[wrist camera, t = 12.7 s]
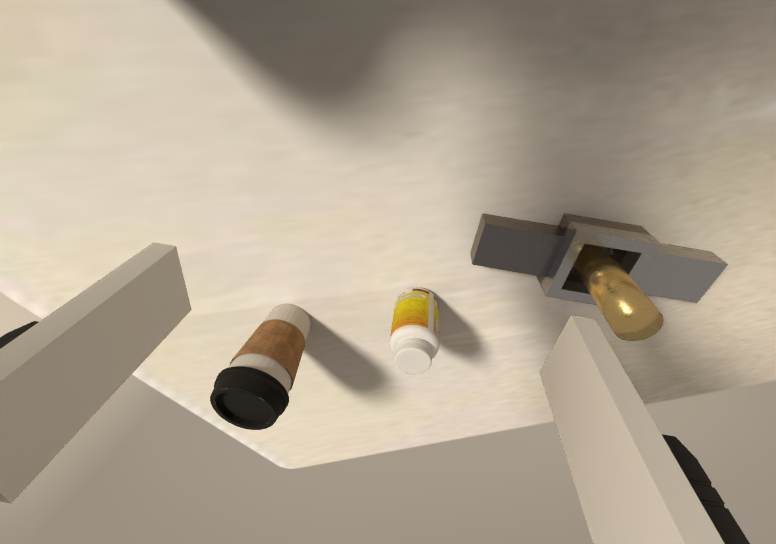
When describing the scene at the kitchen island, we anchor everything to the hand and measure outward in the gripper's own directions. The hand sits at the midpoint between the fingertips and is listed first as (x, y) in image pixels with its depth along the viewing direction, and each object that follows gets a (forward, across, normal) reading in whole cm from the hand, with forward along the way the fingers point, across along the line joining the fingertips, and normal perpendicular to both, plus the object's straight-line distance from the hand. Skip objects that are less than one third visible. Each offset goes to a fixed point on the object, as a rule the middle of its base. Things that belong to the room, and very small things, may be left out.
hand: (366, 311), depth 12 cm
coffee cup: (+27, -13, -27) cm, 40 cm away
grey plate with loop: (+27, +21, -9) cm, 35 cm away
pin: (+27, +21, -9) cm, 35 cm away
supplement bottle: (+27, +4, -20) cm, 34 cm away
